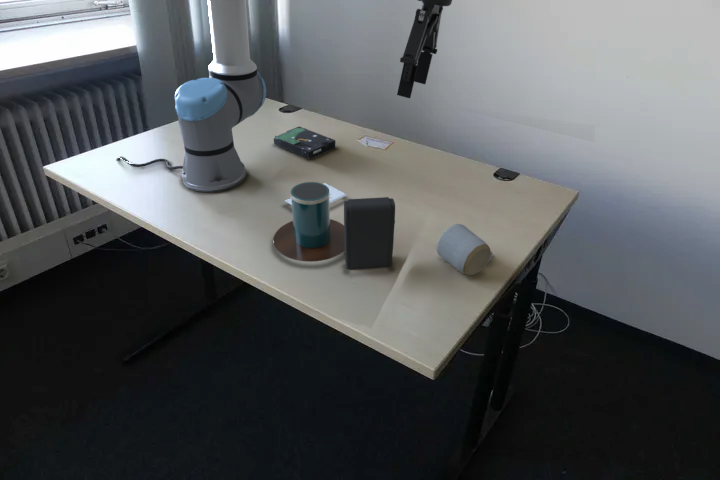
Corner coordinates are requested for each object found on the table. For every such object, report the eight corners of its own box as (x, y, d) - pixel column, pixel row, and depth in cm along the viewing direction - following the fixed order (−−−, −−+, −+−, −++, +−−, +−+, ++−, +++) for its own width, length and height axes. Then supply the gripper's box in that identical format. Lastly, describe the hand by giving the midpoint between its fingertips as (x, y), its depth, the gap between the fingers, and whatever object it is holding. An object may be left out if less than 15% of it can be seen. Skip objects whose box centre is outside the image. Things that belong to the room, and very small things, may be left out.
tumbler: (287, 243, 104) (283, 196, 98) (303, 224, 110) (301, 178, 104) (321, 251, 102) (319, 203, 96) (336, 232, 108) (335, 185, 102)
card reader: (389, 259, 102) (393, 194, 94) (393, 272, 99) (397, 205, 91) (344, 262, 102) (343, 196, 93) (346, 275, 98) (345, 208, 90)
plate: (259, 256, 103) (258, 250, 102) (295, 216, 115) (294, 211, 115) (333, 274, 98) (333, 268, 98) (362, 231, 111) (362, 225, 110)
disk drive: (336, 149, 145) (299, 134, 153) (336, 139, 143) (298, 125, 151) (310, 161, 138) (273, 145, 146) (309, 151, 137) (272, 135, 145)
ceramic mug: (463, 283, 97) (469, 250, 92) (433, 261, 102) (438, 229, 98) (501, 264, 102) (509, 232, 97) (471, 244, 107) (477, 213, 103)
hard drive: (284, 206, 119) (324, 188, 126) (307, 220, 114) (347, 200, 121) (283, 200, 118) (324, 182, 125) (306, 213, 113) (347, 194, 120)
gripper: (442, -12, 88) (414, 108, 100) (466, -19, 109) (440, 81, 120) (401, -22, 90) (378, 97, 101) (432, -26, 110) (409, 73, 122)
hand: (411, 89), depth 111 cm, fingers open, 13 cm apart
